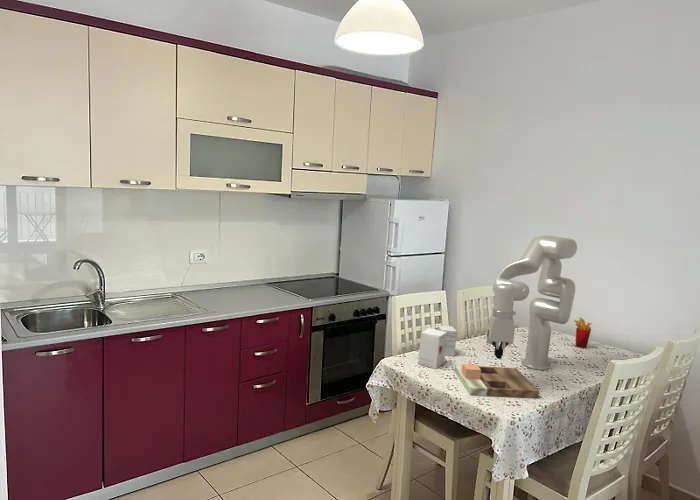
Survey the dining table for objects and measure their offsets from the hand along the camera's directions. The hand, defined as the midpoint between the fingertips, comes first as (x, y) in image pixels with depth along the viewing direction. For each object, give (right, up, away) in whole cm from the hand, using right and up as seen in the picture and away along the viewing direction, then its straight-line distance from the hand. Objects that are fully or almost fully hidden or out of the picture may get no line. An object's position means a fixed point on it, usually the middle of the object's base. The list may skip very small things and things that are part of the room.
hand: (498, 357), depth 211 cm
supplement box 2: (-15, -6, +35) cm, 38 cm away
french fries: (+60, -7, +62) cm, 86 cm away
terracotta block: (-11, -8, 0) cm, 14 cm away
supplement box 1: (-24, -7, +19) cm, 32 cm away
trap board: (-1, -11, +1) cm, 11 cm away
